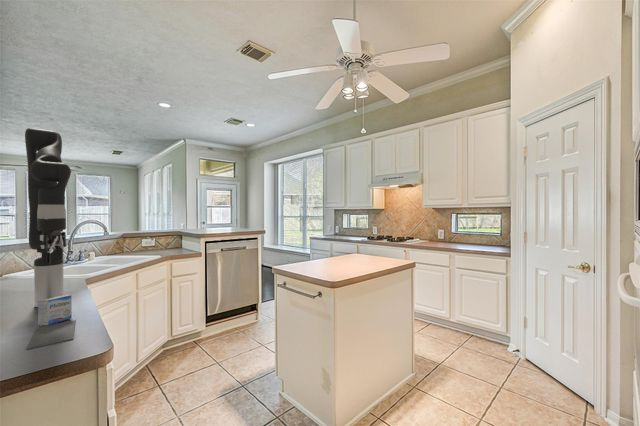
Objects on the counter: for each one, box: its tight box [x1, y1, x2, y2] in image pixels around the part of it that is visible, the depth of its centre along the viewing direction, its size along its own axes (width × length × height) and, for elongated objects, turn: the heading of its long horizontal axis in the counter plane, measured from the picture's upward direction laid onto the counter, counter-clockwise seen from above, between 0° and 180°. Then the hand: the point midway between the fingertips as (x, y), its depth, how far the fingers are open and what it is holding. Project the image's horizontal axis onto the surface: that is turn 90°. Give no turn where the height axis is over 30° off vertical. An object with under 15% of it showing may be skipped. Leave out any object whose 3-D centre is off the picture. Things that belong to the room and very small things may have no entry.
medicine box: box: [37, 294, 73, 326], centre depth 101 cm, size 8×4×9 cm, turn 169°
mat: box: [26, 319, 76, 351], centre depth 91 cm, size 20×10×1 cm, turn 40°
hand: (52, 261), depth 102 cm, fingers open, 8 cm apart
